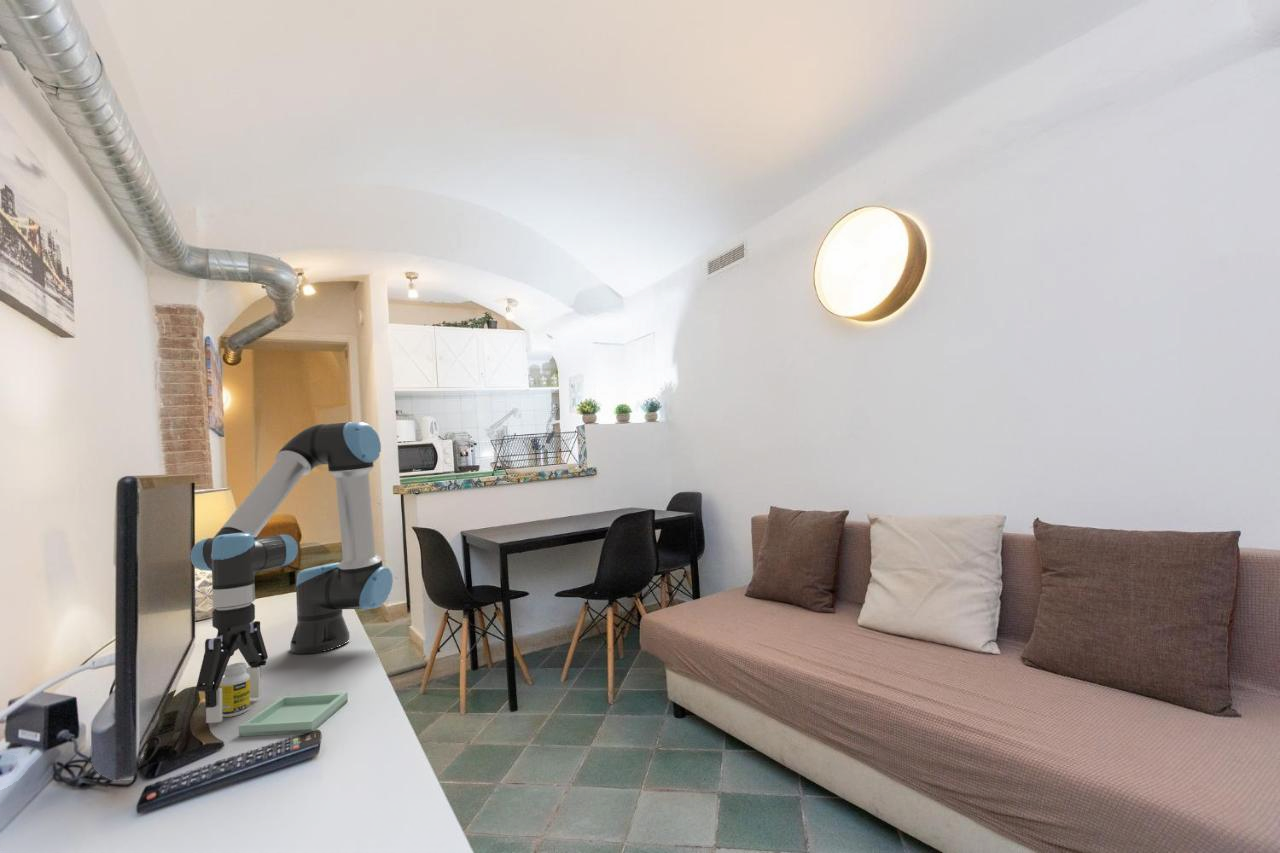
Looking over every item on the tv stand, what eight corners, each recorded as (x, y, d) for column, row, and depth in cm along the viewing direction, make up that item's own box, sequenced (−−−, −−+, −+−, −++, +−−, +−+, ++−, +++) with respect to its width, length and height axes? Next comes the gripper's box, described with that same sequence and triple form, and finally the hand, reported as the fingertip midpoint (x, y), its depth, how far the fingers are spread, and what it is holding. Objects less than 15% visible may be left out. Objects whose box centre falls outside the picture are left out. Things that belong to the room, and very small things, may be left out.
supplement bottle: (234, 718, 119) (233, 670, 120) (212, 717, 120) (212, 670, 121) (256, 707, 125) (255, 661, 125) (235, 706, 126) (235, 660, 126)
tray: (283, 705, 125) (282, 696, 125) (347, 701, 125) (347, 692, 125) (239, 736, 111) (238, 725, 111) (311, 732, 111) (311, 721, 111)
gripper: (252, 593, 136) (253, 687, 134) (172, 622, 112) (172, 736, 111) (284, 592, 136) (286, 685, 134) (211, 620, 112) (212, 734, 111)
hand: (234, 708), depth 122 cm, fingers open, 11 cm apart
